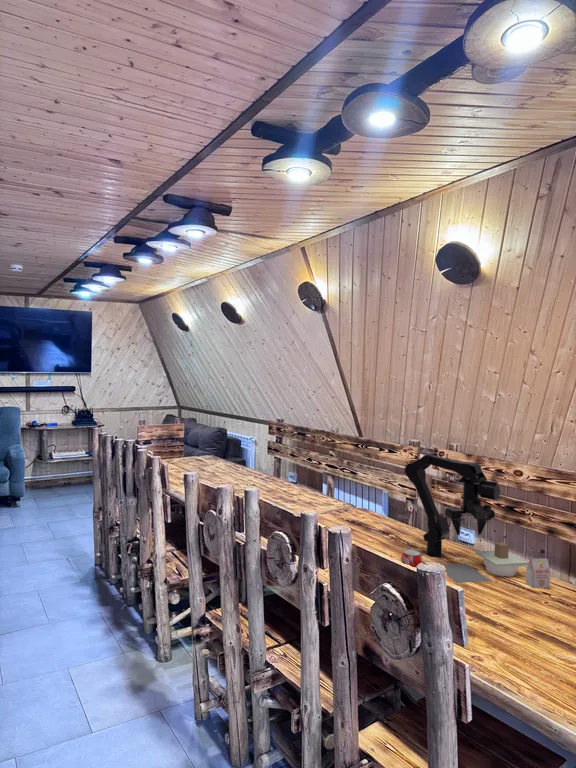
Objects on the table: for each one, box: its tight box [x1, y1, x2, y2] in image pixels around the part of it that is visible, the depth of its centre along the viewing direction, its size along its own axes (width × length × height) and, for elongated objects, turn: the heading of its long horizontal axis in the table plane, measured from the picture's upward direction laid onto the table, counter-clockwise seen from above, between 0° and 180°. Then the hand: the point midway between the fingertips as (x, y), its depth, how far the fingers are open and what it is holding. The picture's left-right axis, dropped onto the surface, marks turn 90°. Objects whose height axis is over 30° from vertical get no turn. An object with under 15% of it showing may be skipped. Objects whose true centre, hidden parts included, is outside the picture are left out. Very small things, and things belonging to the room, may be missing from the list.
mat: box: [441, 562, 492, 584], centre depth 191 cm, size 17×14×1 cm
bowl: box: [483, 559, 520, 577], centre depth 194 cm, size 12×12×5 cm
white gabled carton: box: [525, 558, 551, 590], centre depth 182 cm, size 4×7×10 cm, turn 99°
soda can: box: [400, 548, 423, 567], centre depth 177 cm, size 7×7×12 cm
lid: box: [474, 541, 529, 566], centre depth 194 cm, size 14×14×6 cm
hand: (468, 534), depth 200 cm, fingers open, 9 cm apart
